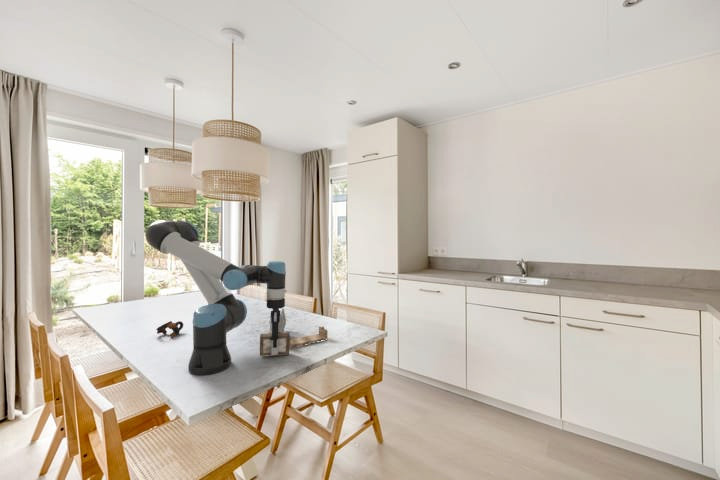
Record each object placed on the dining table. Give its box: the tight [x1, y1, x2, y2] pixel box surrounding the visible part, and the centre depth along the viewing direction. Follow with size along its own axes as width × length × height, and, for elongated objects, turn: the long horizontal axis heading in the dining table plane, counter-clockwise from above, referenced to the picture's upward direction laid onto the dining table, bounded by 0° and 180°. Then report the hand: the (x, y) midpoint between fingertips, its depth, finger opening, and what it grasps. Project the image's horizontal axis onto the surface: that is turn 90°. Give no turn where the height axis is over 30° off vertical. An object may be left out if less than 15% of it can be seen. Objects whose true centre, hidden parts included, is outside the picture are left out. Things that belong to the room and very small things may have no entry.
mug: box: [268, 308, 287, 333], centre depth 161 cm, size 8×12×12 cm, turn 162°
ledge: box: [289, 326, 328, 349], centre depth 148 cm, size 20×7×6 cm, turn 124°
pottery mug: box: [156, 320, 184, 339], centre depth 158 cm, size 12×10×8 cm
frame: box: [259, 331, 291, 357], centre depth 132 cm, size 12×4×8 cm, turn 104°
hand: (274, 352), depth 132 cm, fingers closed on frame, 4 cm apart
